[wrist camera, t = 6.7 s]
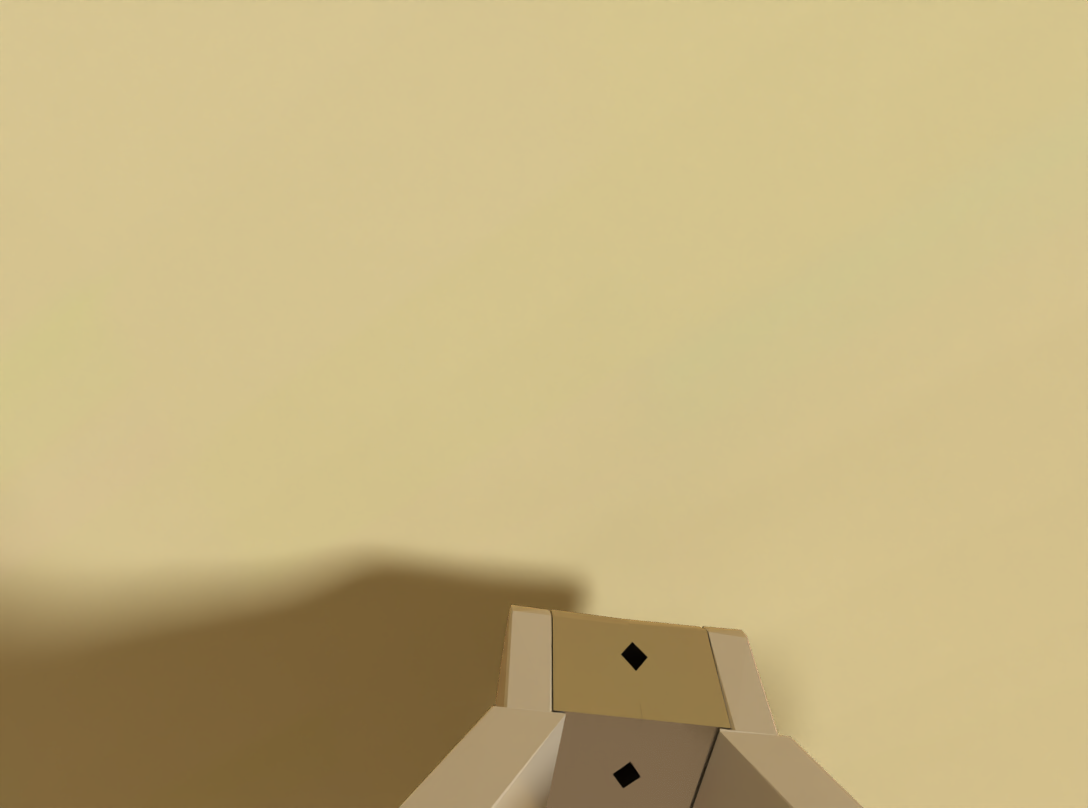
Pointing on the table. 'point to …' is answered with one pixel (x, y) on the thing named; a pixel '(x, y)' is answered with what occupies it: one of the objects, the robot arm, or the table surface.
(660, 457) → the table surface
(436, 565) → the table surface
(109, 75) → the table surface
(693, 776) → the robot arm
